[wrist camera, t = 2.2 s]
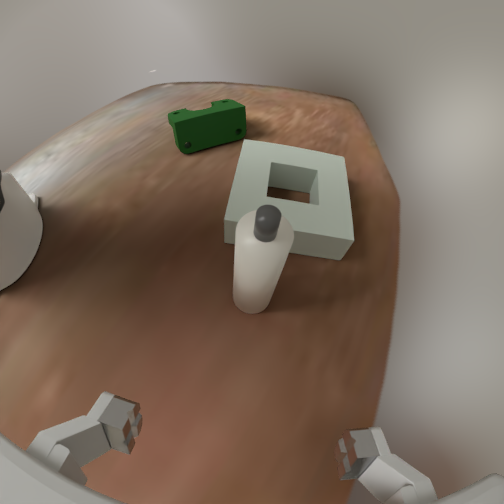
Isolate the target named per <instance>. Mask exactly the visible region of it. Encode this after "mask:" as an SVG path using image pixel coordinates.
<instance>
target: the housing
mask: <svg viewBox="0 0 504 504" xmlns="http://www.w3.org/2000/svg"><path fill="white" fill-rule="evenodd" d="M268 186H270V187H276V188H282V189H288V190H294V191H300V192H305V193H310V204H308V203H302V202H296V201H291V200H285V199H279V198H272V197H267V189H268ZM262 205H273V206H275V207H277V208H278V209H279V210H280V212H281V215H282V216H284V217H285V218H286V219H287V220H288V221H289V223H290V224H291V226H292V228H293V231H294V240H293V243H292V246H291V249H290V251H289V253H295V254H302V255H308V256H315V257H321V258H328V259H334V260H341V259H342V258H343V256H344V255H345V253H346V252H347V250H348V249H349V248H350V246H351V245H352V243H353V242H354V232H353V221H352V212H351V203H350V195H349V187H348V180H347V173H346V166H345V160H344V157H341V156H337V155H332V154H328V153H323V152H318V151H313V150H308V149H303V148H298V147H292V146H286V145H280V144H274V143H268V142H261V141H254V140H246V139H244V142H243V146H242V150H241V154H240V157H239V161H238V165H237V169H236V173H235V177H234V181H233V185H232V189H231V193H230V197H229V201H228V205H227V209H226V214H225V218H224V243H230V244H235V235H236V226H237V224H238V222H239V220H240V219H241V218H242V217H243V216H244V215H245V214H247V213H249V212H251V211H254V210H257V209H258V208H259V207H260V206H262Z"/></svg>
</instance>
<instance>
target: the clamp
mask: <svg viewBox="0 0 504 504" xmlns="http://www.w3.org/2000/svg"><path fill="white" fill-rule="evenodd" d="M211 104H212V107H210V108H207V109H203V110H196V111H189V110H186V108H185V109H181V110H177V111H174V112H171V113H169V114H168V120H169V124H170V125H171V126H172V127H173V132H174V137H175V142H176V145H177V147H178V148H179V150H180V151H181V152H182V153H184V154H188V153H192V152H195V151H199V150H202V149H206V148H209V147H213V146H216V145H220V144H224V143H228V142H231V141H235V140H239V139H242V138H243V137H244V136H245V134H246V131H247V130H246V111H245V106H244V105H242V104H240V103H238V102H236V101H234V100H230V99H226V100H220V101H215V102H211ZM186 142H187V143H186ZM185 143H186V144H185Z"/></svg>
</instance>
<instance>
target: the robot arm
mask: <svg viewBox="0 0 504 504" xmlns="http://www.w3.org/2000/svg"><path fill="white" fill-rule="evenodd" d="M42 229H43V223H42V218H41V215H40V213H39V211H38V197H37V196H36V195H35V194H27V193H26V192H25V191H24V190H23V188H22V187H21V186H20V185H19V183H18V182H17V181H16V180H15V178H14V177H13V176H12V174H10V173H9V172H8V173H1V171H0V290H2V289H3V288H5V287H7V286H9V285H11V284H12V283H14V282H15V281H16V280H17V279H18V278H19V277H20V276H21V275H22V274H23V273H24V271H25V270H26V269H27V267H28V266H29V264H30V263H31V261H32V259H33V258H34V256H35V254H36V251H37V249H38V246H39V244H40V240H41V236H42ZM139 411H140V404H139V403H137V402H134V401H131V400H128V399H125V398H122V397H120V396H117V395H114V394H111V393H109V392H106V391H105V392H103V393H102V394H101V395H100V397H99V398H98V400H97V401H96V403H95V404H94V406H93V407H92V409H91V410H90V412H89V413H88V415H87V416H84V415H83V416H80V417H78V418H75V419H73V420H70V421H67V422H65V423H62V424H59V425H57V426H54V427H51V428H48V429H46V430H43V431H40V432H39V433H38V435H37V436H36V437H35V439H34V440H33V442H32V443H31V444H30V446H29V447H28V448H27V450H26V451H24V450H23V449H22V448H20V447H19V446H17V445H16V444H15V443H13V442H12V441H11V440H9V439H8V438H7V437H6V436H4V435H3V434H2V433H1V432H0V504H127V503H124V502H121V501H119V500H116V499H114V498H111V497H109V496H106V495H104V494H101V493H99V492H97V491H95V490H92V489H90V488H88V487H86V486H85V484H86V482H87V477H86V475H85V474H84V473H83V471H82V470H81V468H80V467H82V466H84V465H86V464H87V463H89V462H91V461H92V460H94V459H96V458H97V457H99V456H101V455H102V454H104V453H106V452H107V451H109V450H111V448H112V449H115V450H118V451H120V452H123V453H126V454H131V451H132V449H133V447H134V445H135V440H134V438H135V437H136V436H138V435H139V433H140V431H141V427H142V415H141V414H140V413H139ZM342 436H343V438H342V439H340V440H338V442H337V444H336V446H335V460H336V461H337V462H338V463H339V466H338V467H337V470H338V475H339V480H346V479H357V478H358V480H359V481H360V482H361V483H362V484H363V485H364V486H365V487H366V488H367V489H368V490H369V491H370V492H371V494H372V495H374V497H376V498H377V500H378V501H379V502H380V503H382V504H504V477H503V476H501V475H499V474H496V473H494V474H490V475H488V476H486V477H485V478H483V479H481V480H479V481H477V482H475V483H473V484H471V485H469V486H467V487H465V488H463V489H461V490H459V491H457V492H454V493H452V494H450V495H448V496H445V497H443V498H440V499H438V498H437V495H436V493H435V490H434V488H433V486H432V483H431V480H430V479H429V478H428V477H427V476H425V475H424V474H422V473H421V472H419V471H418V470H416V469H415V468H413V467H412V466H410V465H409V464H408V463H406V462H405V461H403V460H402V459H401V458H399V457H398V456H397V455H395V454H391V452H390V449H389V447H388V444H387V442H386V439H385V437H384V434H383V432H382V429H381V428H380V427H371V428H356V429H346V430H345V431H344V432H343V434H342Z"/></svg>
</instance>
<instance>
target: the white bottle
mask: <svg viewBox="0 0 504 504" xmlns="http://www.w3.org/2000/svg"><path fill="white" fill-rule="evenodd" d="M293 240H294V231H293V228H292V226H291V224H290V223H289V221H288V220H287V219H286V218H285V217H284V216H282V215H281V212H280V210H279V209H278V208H277V207H275V206H273V205H262V206H260V207H259V208H258V209H257V210H254V211H251V212H249V213H247V214H245V215H244V216H243V217H242V218H241V219H240V220H239V222H238V224H237V226H236V235H235V255H234V278H233V301H234V303H235V305H236V306H237V308H238V309H240V310H241V311H243V312H245V313H248V314H256V313H259V312H261V311H263V310H264V309H265V308H266V307H267V306H268V304H269V302H270V300H271V297H272V295H273V292H274V290H275V287H276V285H277V282H278V280H279V277H280V275H281V272H282V269H283V267H284V264H285V262H286V259H287V256H288V254H289V251H290V249H291V246H292V243H293Z"/></svg>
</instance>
